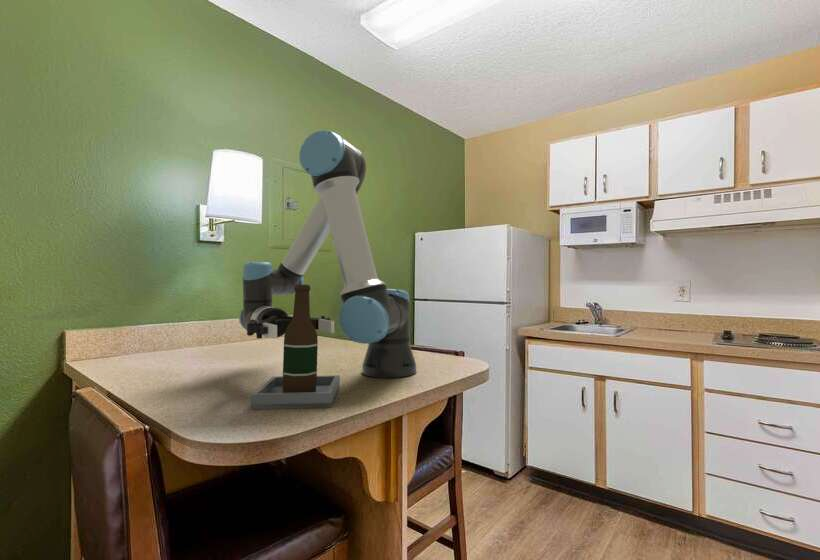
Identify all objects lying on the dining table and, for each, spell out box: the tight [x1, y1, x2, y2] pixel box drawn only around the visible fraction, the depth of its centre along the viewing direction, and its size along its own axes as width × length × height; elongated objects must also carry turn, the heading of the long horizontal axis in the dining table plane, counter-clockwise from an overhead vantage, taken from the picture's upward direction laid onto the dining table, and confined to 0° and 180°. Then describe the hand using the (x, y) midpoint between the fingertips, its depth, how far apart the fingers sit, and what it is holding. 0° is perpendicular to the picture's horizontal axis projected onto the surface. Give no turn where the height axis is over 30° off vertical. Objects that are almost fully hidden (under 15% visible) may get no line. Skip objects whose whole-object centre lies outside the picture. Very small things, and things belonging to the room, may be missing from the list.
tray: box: [250, 374, 341, 410], centre depth 94 cm, size 16×16×3 cm
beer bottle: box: [282, 284, 319, 393], centre depth 94 cm, size 8×8×24 cm
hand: (305, 329), depth 91 cm, fingers open, 12 cm apart
